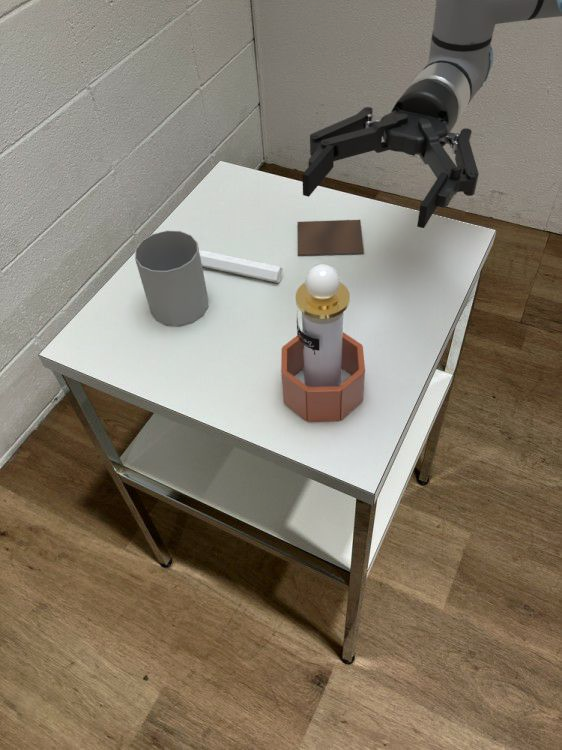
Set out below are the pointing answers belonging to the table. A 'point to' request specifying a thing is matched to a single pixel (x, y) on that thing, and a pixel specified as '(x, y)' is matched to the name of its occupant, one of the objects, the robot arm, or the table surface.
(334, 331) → the perfume bottle
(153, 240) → the cup
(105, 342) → the table surface
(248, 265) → the marker
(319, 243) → the coaster
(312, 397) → the holder
